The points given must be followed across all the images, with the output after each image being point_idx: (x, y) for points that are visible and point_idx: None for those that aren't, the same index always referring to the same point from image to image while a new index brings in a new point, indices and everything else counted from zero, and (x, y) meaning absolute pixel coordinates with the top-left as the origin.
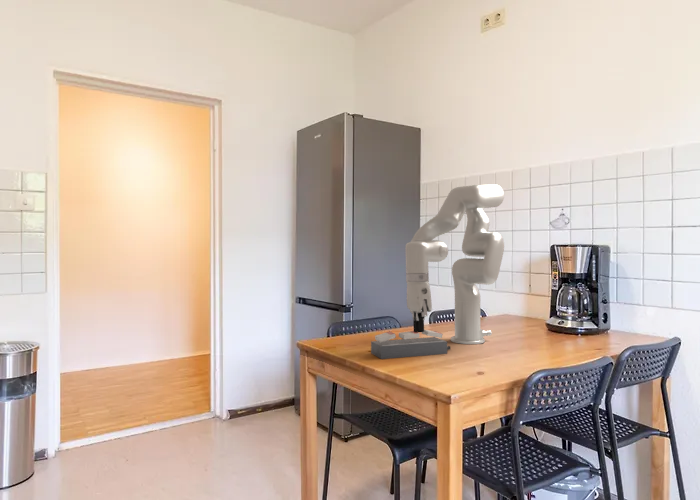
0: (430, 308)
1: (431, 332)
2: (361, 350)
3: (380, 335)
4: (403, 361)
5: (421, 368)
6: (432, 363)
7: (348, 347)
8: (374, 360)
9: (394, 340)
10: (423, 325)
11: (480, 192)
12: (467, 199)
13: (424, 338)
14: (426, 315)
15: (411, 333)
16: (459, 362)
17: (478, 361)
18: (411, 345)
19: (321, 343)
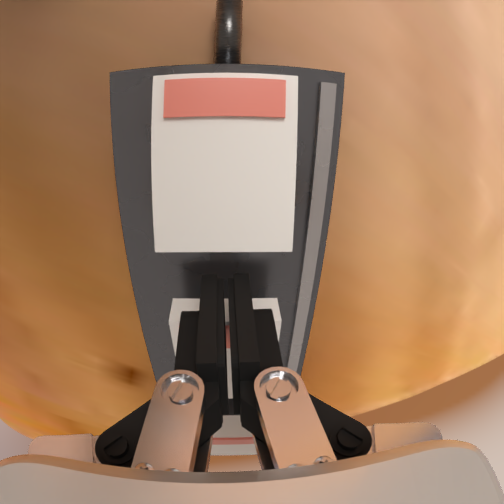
0: (486, 478)
1: (292, 210)
2: (114, 393)
3: (221, 451)
4: (342, 339)
5: (446, 315)
6: (429, 255)
7: (69, 401)
8: None
9: (170, 369)
10: (252, 317)
11: None
12: None
13: (146, 181)
14: (433, 435)
15: None
16: (474, 140)
17: (490, 54)
18: (306, 332)
19: (28, 420)
